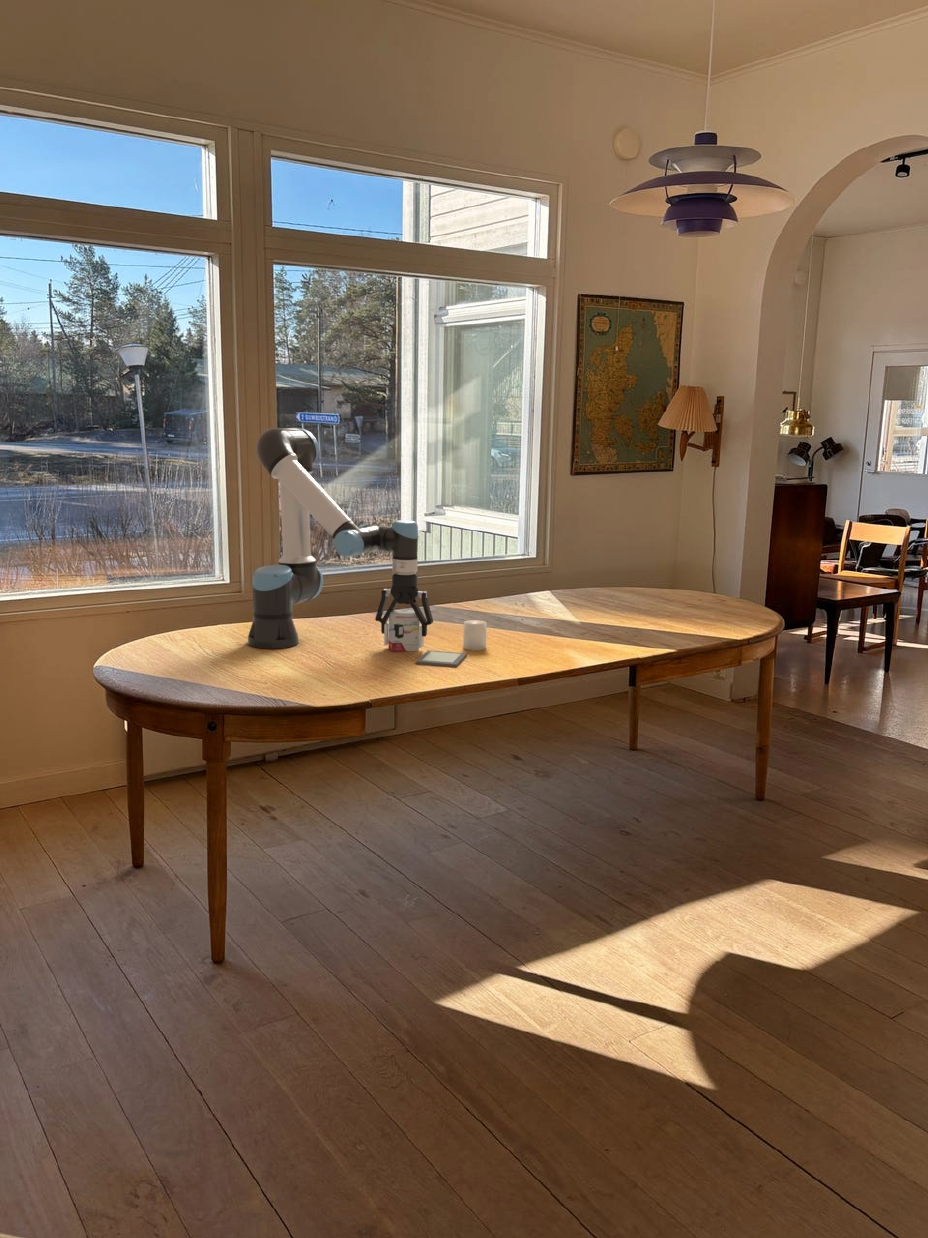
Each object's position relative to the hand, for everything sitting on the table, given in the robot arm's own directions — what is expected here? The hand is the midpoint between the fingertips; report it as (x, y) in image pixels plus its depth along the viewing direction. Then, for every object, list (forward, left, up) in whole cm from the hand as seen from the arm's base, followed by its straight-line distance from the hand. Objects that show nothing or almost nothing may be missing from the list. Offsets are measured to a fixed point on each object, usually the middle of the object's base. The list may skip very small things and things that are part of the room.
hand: (403, 645), depth 305 cm
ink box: (0, 0, -2) cm, 2 cm away
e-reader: (+14, -9, -1) cm, 17 cm away
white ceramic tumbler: (+20, +9, -1) cm, 22 cm away
